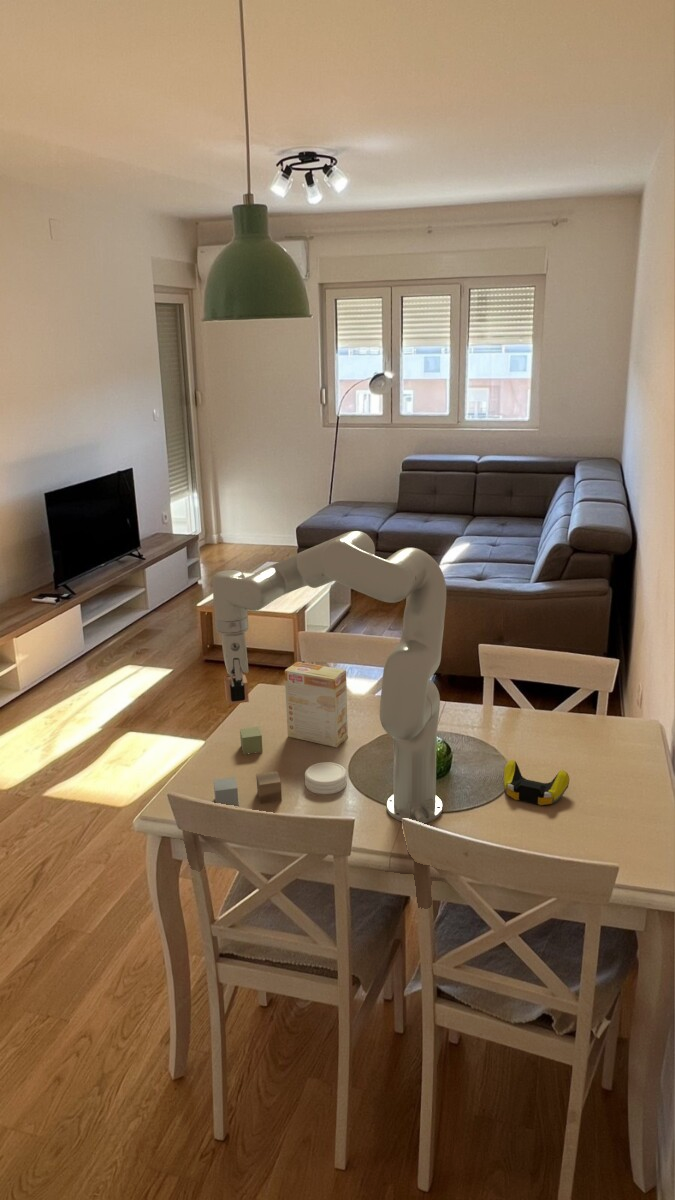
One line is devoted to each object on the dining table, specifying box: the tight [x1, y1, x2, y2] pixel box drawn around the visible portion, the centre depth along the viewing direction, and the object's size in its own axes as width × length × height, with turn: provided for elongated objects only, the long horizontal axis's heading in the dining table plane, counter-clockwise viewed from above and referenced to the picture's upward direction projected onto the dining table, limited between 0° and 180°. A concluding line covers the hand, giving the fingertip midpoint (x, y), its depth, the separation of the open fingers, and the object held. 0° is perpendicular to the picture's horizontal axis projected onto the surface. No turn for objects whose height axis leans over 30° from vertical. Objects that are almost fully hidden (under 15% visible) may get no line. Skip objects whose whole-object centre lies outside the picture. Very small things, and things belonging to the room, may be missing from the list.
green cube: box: [239, 726, 264, 755], centre depth 215 cm, size 5×5×5 cm
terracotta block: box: [223, 673, 249, 705], centre depth 197 cm, size 5×5×5 cm
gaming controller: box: [503, 760, 570, 806], centre depth 191 cm, size 15×6×10 cm
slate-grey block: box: [213, 776, 240, 807], centre depth 191 cm, size 5×5×5 cm
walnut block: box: [255, 770, 283, 804], centre depth 193 cm, size 5×5×5 cm
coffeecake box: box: [284, 661, 349, 748], centre depth 218 cm, size 15×7×20 cm, turn 63°
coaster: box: [304, 761, 348, 795], centre depth 198 cm, size 10×10×4 cm
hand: (236, 694), depth 197 cm, fingers closed on terracotta block, 4 cm apart
